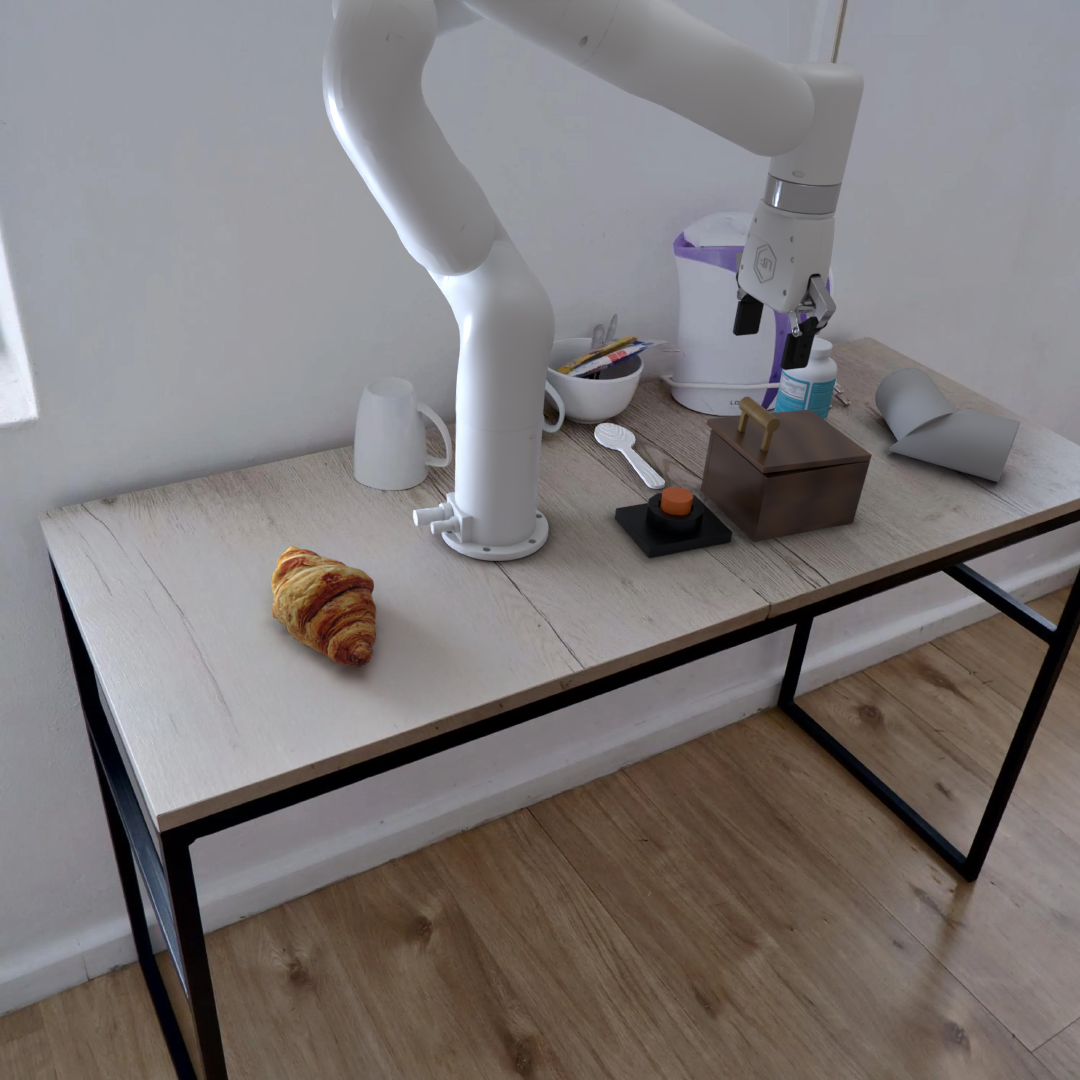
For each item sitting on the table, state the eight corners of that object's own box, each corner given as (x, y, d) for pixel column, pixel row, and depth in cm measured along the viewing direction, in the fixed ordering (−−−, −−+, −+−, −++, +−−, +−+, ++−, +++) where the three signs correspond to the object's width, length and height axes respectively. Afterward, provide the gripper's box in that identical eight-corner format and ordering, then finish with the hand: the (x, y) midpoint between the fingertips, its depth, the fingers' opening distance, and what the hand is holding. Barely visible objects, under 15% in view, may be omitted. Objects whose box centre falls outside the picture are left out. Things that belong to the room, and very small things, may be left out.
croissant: (267, 597, 111) (225, 552, 105) (341, 541, 113) (304, 494, 107) (342, 713, 96) (298, 667, 90) (426, 646, 98) (388, 597, 92)
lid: (762, 473, 115) (773, 433, 112) (706, 424, 124) (714, 386, 121) (870, 460, 120) (882, 422, 118) (808, 414, 130) (818, 378, 127)
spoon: (640, 491, 128) (641, 487, 128) (586, 427, 142) (586, 424, 142) (678, 486, 130) (678, 482, 130) (620, 423, 144) (621, 420, 144)
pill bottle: (819, 422, 149) (839, 335, 141) (826, 445, 142) (848, 356, 135) (768, 417, 149) (786, 330, 141) (772, 440, 143) (791, 350, 135)
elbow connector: (844, 446, 140) (994, 490, 132) (866, 372, 136) (1022, 412, 128) (869, 426, 154) (1006, 464, 147) (890, 358, 151) (1031, 393, 143)
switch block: (649, 558, 116) (652, 533, 114) (614, 518, 123) (617, 493, 121) (730, 542, 120) (735, 517, 118) (692, 504, 127) (697, 480, 125)
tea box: (753, 542, 120) (767, 478, 115) (700, 490, 130) (710, 429, 125) (853, 523, 125) (870, 461, 120) (794, 474, 135) (808, 415, 130)
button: (669, 518, 118) (671, 504, 116) (654, 503, 120) (656, 489, 119) (696, 514, 119) (698, 499, 118) (681, 498, 122) (683, 484, 120)
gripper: (726, 174, 109) (700, 324, 119) (821, 221, 96) (784, 385, 106) (783, 172, 112) (754, 319, 121) (884, 218, 99) (842, 378, 108)
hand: (768, 350), depth 114 cm, fingers open, 9 cm apart
